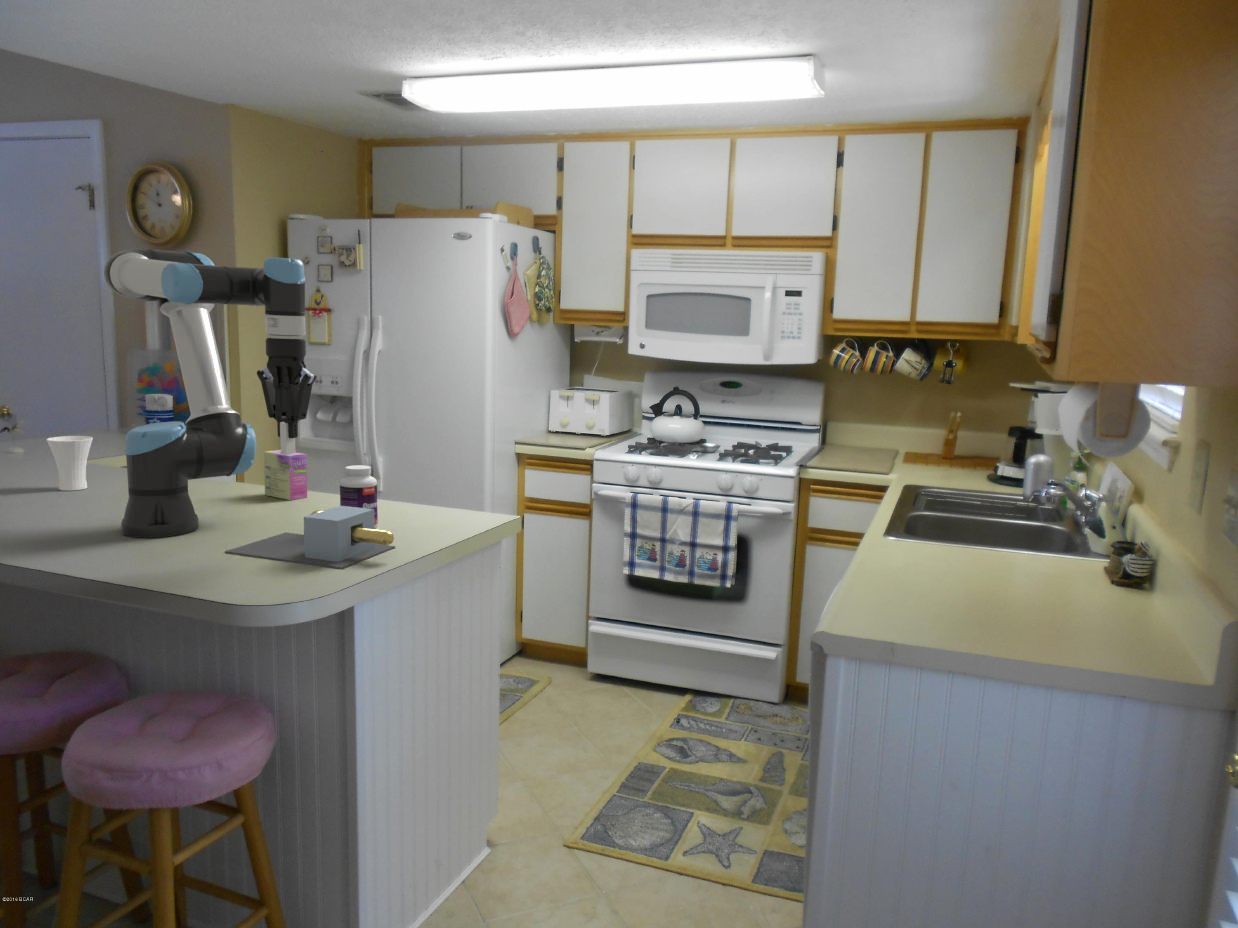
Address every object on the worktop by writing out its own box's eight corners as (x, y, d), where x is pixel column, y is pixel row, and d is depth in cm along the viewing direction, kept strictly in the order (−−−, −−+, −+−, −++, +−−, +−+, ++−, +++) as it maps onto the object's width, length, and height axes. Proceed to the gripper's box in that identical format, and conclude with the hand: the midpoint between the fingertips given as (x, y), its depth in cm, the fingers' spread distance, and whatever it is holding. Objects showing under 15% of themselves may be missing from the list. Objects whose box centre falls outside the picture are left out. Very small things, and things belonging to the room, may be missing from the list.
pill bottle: (367, 535, 198) (366, 471, 196) (333, 532, 199) (332, 468, 197) (384, 527, 206) (383, 465, 203) (351, 524, 207) (350, 463, 205)
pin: (304, 552, 180) (303, 514, 179) (328, 543, 187) (328, 507, 186) (381, 562, 174) (381, 523, 173) (404, 553, 182) (403, 515, 180)
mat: (225, 552, 180) (224, 551, 180) (285, 533, 197) (285, 532, 197) (342, 568, 171) (342, 567, 171) (395, 547, 188) (395, 546, 188)
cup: (80, 493, 233) (77, 441, 231) (40, 491, 233) (37, 440, 231) (104, 485, 244) (101, 436, 242) (66, 484, 244) (62, 435, 242)
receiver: (304, 558, 178) (303, 516, 176) (342, 545, 189) (341, 505, 188) (338, 563, 175) (337, 520, 174) (374, 549, 186) (374, 509, 185)
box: (308, 497, 236) (307, 453, 234) (290, 500, 232) (288, 455, 230) (282, 492, 242) (281, 449, 240) (264, 495, 237) (263, 451, 235)
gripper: (245, 335, 178) (249, 453, 182) (300, 339, 173) (302, 459, 177) (272, 335, 185) (274, 448, 189) (324, 338, 180) (326, 454, 184)
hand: (288, 453), depth 183 cm, fingers closed
